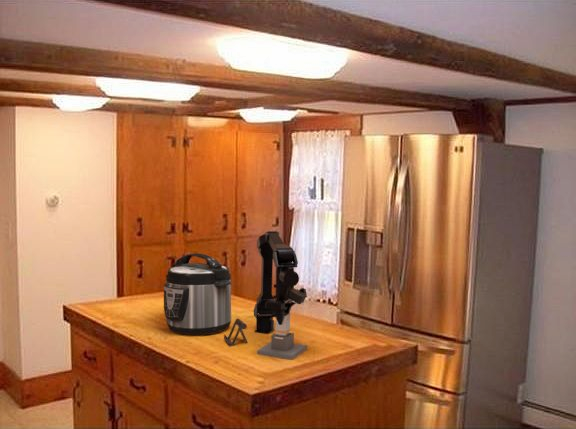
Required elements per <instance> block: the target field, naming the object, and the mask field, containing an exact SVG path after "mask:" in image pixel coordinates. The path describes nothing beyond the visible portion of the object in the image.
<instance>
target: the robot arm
mask: <svg viewBox="0 0 576 429" xmlns="http://www.w3.org/2000/svg"><path fill="white" fill-rule="evenodd" d="M256 248H257V252H258V254H259V256H260V257H261V273H260V274H261V275H260V276H261V277H260V293H259V295H258V297H257V298H256V303H255V304H254V309H253V317H254V318H255V320H256V321H255V322H256V324H255V327H256V329H255V330H254V332H255V333H262V334H270V333H272V332H275V320H276V319H277V321H278V324H279V325H282V322H283V315H284V313H290V312H291V309H292V307H293V306H295V305H296V304H297V305H301V304H303V303H305V300H306V298H308V295H307V289H306V288H304V287H301V288H300V289H299V288H298V289H296V288H295V286H297V285H298V283H299V282H300V277H299V274H298V272H297V271H295V268H298V263H299V262H298V258H297V254H296V251H295V250H294V248H293V247H292V246H290V245H288V244H285V242H284V241H283V239H282V237H281V236H280V232H279V231H278V230H268V231H266V232H264V234H262V235H260V236H258V238H257V240H256ZM273 263H274V266H275V283H274V284H273V268H274V267H273ZM273 288H274V289H275V294H274V295H273ZM290 314H291V313H290ZM274 318H275V320H274Z"/></svg>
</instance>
